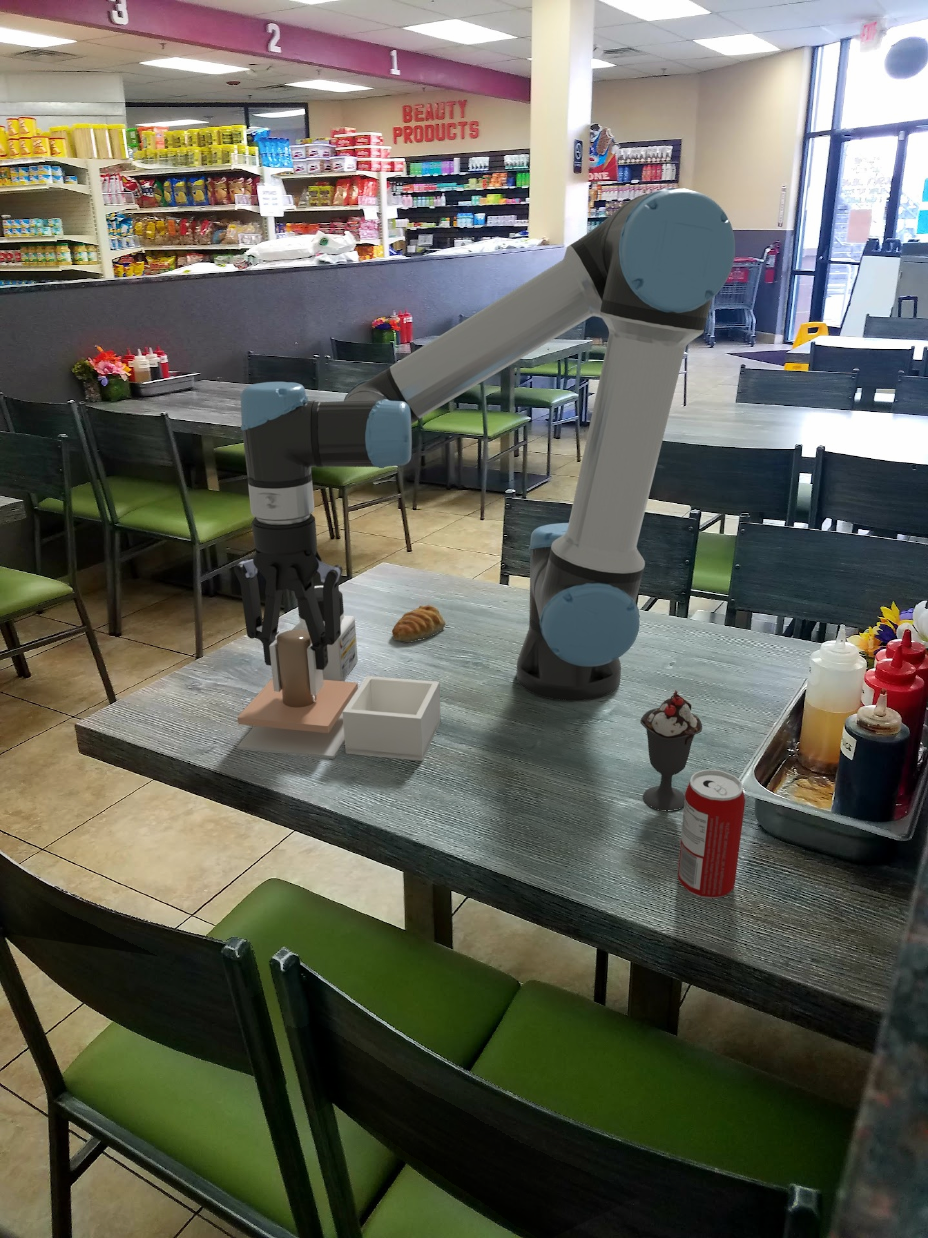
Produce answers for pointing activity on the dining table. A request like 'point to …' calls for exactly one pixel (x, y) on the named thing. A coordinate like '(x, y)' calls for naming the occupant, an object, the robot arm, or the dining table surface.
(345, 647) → the container
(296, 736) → the mat
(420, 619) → the pastry
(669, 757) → the sundae
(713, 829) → the soda can
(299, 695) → the lid
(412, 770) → the dining table surface
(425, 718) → the white open box
